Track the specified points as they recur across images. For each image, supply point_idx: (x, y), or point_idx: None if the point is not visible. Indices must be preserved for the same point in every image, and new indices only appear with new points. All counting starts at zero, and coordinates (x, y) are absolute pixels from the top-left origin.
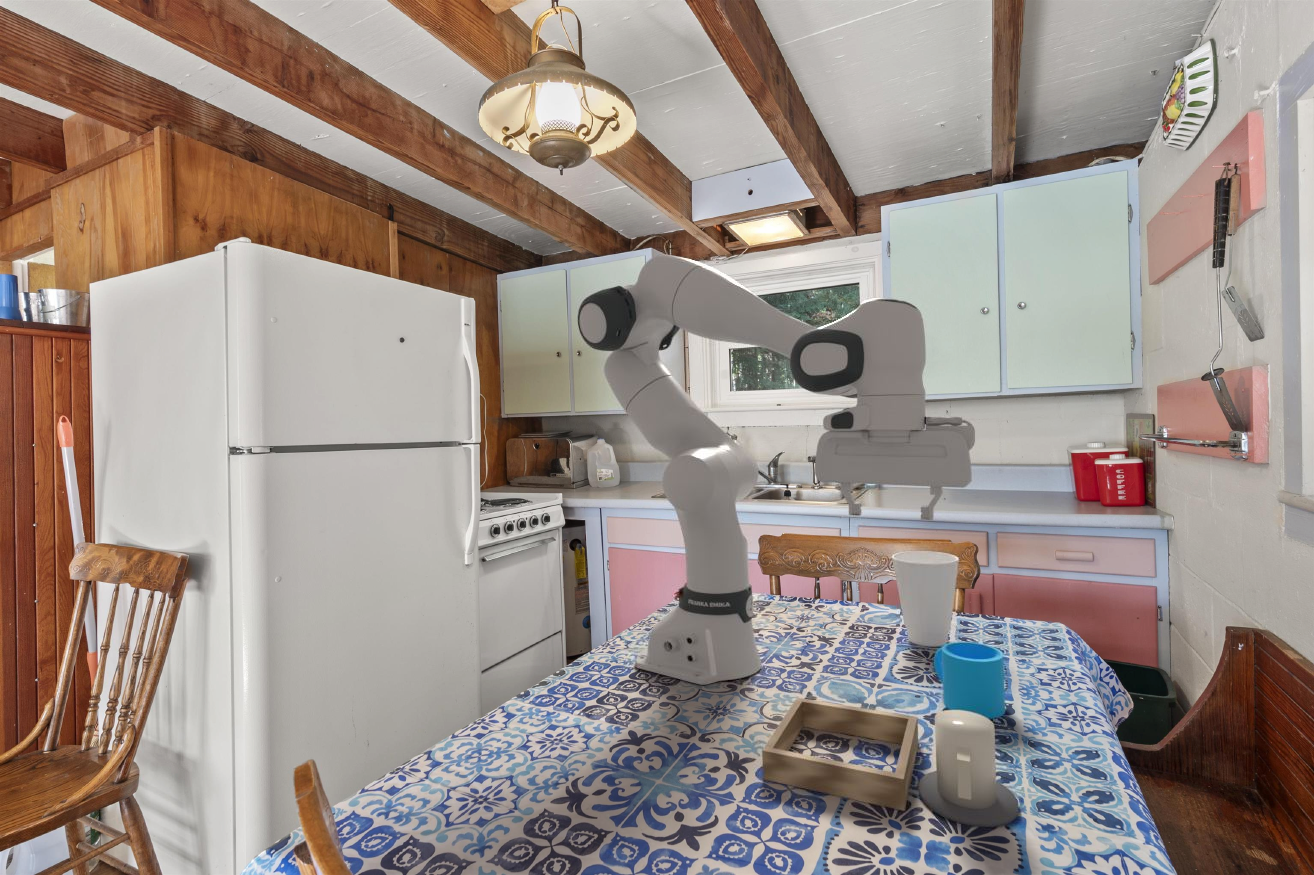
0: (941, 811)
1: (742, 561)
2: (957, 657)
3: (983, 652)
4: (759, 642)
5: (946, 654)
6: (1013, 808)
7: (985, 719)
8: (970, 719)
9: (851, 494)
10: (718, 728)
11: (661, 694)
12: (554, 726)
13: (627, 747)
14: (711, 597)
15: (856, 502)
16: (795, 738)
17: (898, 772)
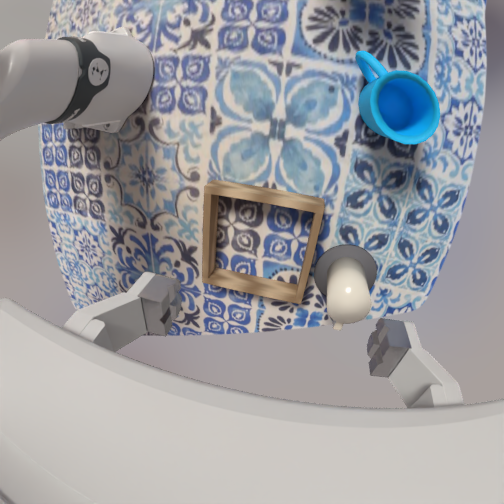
0: (324, 294)
1: (44, 87)
2: (386, 131)
3: (419, 87)
4: (140, 3)
5: (374, 118)
6: (370, 285)
7: (367, 300)
8: (355, 302)
9: (114, 314)
10: (157, 208)
11: (98, 162)
12: (76, 231)
13: (120, 247)
14: (58, 121)
15: (149, 312)
16: (217, 212)
17: (298, 297)
